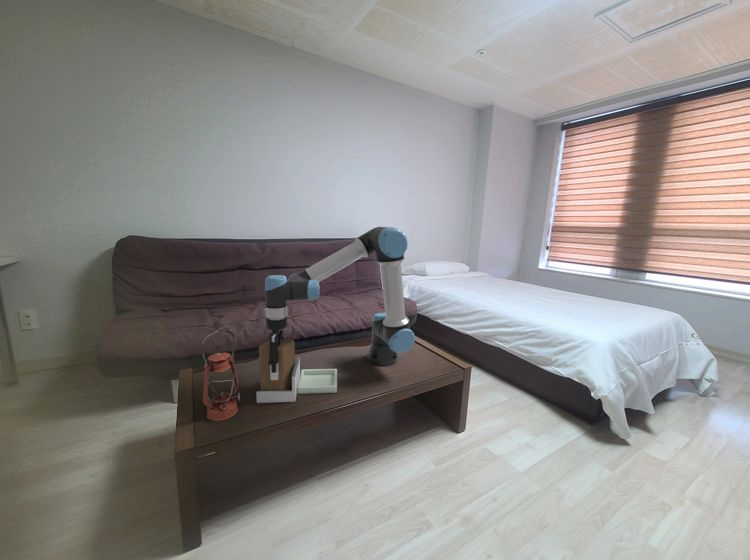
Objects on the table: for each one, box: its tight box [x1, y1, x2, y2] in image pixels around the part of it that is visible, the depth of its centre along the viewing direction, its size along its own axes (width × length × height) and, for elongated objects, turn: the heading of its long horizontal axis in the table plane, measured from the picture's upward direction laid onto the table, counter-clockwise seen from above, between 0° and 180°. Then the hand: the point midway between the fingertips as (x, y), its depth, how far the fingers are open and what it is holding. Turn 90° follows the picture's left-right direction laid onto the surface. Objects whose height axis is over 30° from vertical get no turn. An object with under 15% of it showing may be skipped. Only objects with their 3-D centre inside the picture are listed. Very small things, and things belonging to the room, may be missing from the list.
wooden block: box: [258, 338, 296, 391], centre depth 116 cm, size 10×10×20 cm
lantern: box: [202, 327, 241, 422], centre depth 101 cm, size 10×10×30 cm
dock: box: [255, 356, 301, 404], centre depth 117 cm, size 14×15×11 cm
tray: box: [297, 368, 338, 395], centre depth 124 cm, size 15×15×2 cm
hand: (277, 371), depth 116 cm, fingers closed on wooden block, 11 cm apart
